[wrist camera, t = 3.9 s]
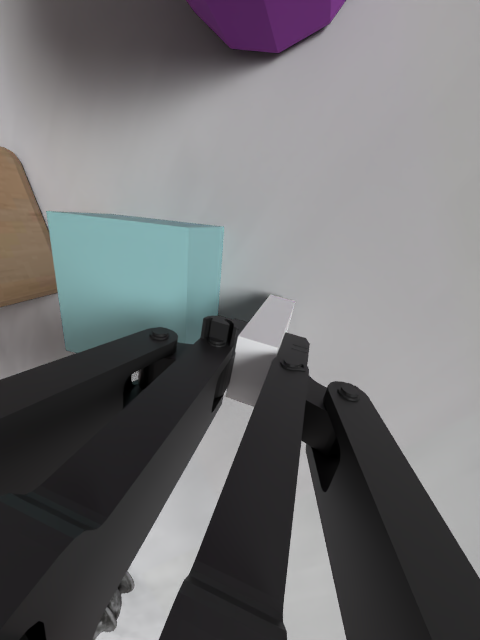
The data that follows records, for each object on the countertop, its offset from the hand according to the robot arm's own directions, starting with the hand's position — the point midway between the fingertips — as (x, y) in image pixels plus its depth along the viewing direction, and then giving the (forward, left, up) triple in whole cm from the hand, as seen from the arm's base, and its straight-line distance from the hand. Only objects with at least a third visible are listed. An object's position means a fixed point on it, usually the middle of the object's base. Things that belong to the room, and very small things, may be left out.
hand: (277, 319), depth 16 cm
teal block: (0, -8, -2) cm, 8 cm away
